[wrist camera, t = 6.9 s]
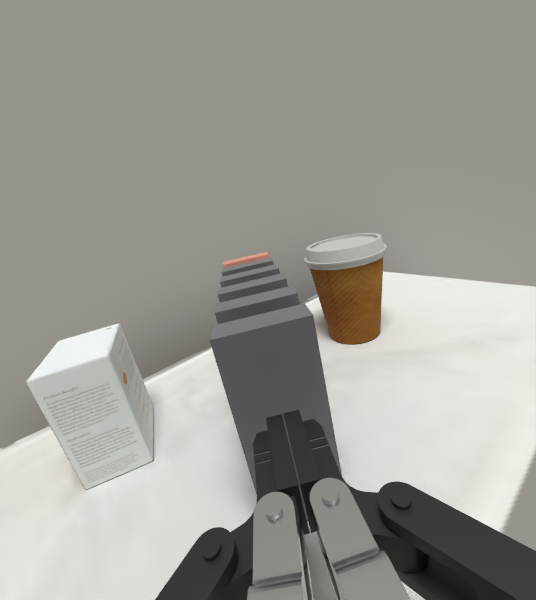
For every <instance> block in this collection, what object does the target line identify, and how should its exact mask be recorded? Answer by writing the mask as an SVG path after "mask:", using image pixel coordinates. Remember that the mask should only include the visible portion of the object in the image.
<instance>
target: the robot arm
mask: <svg viewBox="0 0 536 600" xmlns="http://www.w3.org/2000/svg"><path fill="white" fill-rule="evenodd" d="M283 415H284V419H285V423H286V427H287V432H288V436H289V440H290V445H291V449H292V453H293V457H294V462H295V466H296V470H297V474H298V479H299V483H300V487H301V491H302V495H303V500H304V504H305V508H306V512H307V516H308V521H309V525H310V529H311V533H312V532H315V531H317V534H318V538H319V542H320V546H321V550H322V555H323V559H324V562H325V565H326V568H327V571H328V574H329V577H330V580H331V583H332V586H333V589H334V593H335V596H336V599H337V600H410V598H409V596H408V594H407V592H406V590H405V588H404V586H403V584H402V582H403V583H405V584H406V585H407V586H408V587H410V588H411V589H412V590H414V591H415V592H416V593H418V594H419V595H420V596H422V597H423V598H424V599H425V600H536V551H534V550H532V549H531V548H528V547H527V546H525V545H523V544H521V543H519V542H517V541H515V540H513V539H512V538H510V537H508V536H506V535H504V534H502V533H500V532H498V531H496V530H494V529H493V528H491V527H489V526H487V525H485V524H483V523H481V522H479V521H477V520H475V519H474V518H472V517H470V516H468V515H466V514H464V513H462V512H460V511H458V510H456V509H454V508H453V507H451V506H449V505H447V504H445V503H443V502H441V501H439V500H437V499H435V498H434V497H432V496H430V495H428V494H426V493H424V492H422V491H420V490H418V489H416V488H415V487H413V486H411V485H409V484H406V483H403V482H390V483H387V484H385V485H384V486H383V487H382V488H381V489H380V491H379V493H374V492H363V491H359V490H356V489H354V488H352V487H350V486H349V485H348V484H347V483H346V482H345V481H344V479H343V478H342V476H341V474H340V471H339V469H338V466H337V463H336V461H335V458H334V456H333V453H332V451H331V448H330V446H329V443H328V441H327V438H326V436H325V433H324V431H323V428H322V426H321V425H320V424H319V423H318V422H317V421H316V420H315V419H310V420H306V421H302V418H301V414H300V411H299V410H295V411H291V412H287V413H283ZM266 422H267V428H268V430H267V431H263V432H259V433H257V434H256V437H255V439H254V442H253V452H254V463H255V478H256V490H257V504H256V507H255V509H254V512H253V514H252V516H251V517H250V518H249V519H248V520H247V521H246V522H245V523H244V524H242V525H241V526H239V527H238V528H236V529H235V530H233V531H232V532H229V531H228V530H227V529H224V528H220V527H218V528H212V529H210V530H208V531H206V532H205V533H203V534H202V535H201V536H200V537H199V538H198V540H197V541H196V542H195V544H194V545H193V547H192V548H191V549H190V551H189V552H188V554H187V555H186V557H185V558H184V559H183V561H182V562H181V564H180V565H179V567H178V568H177V569H176V571H175V572H174V574H173V575H172V576H171V578H170V579H169V581H168V582H167V584H166V585H165V586H164V588H163V589H162V591H161V592H160V594H159V595H158V596H157V598H156V599H155V600H313V592H312V585H311V578H310V571H309V564H308V559H307V557H308V552H307V546H306V542H305V537H304V535H305V534H309V529H308V524H307V520H306V516H305V511H304V507H303V503H302V498H301V494H300V489H299V485H298V481H297V476H296V472H295V468H294V463H293V459H292V455H291V450H290V446H289V442H288V438H287V433H286V429H285V425H284V421H283V417H282V414H279V415H275V416H271V417H267V418H266ZM400 580H401V581H402V582H401V581H400Z"/></svg>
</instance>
